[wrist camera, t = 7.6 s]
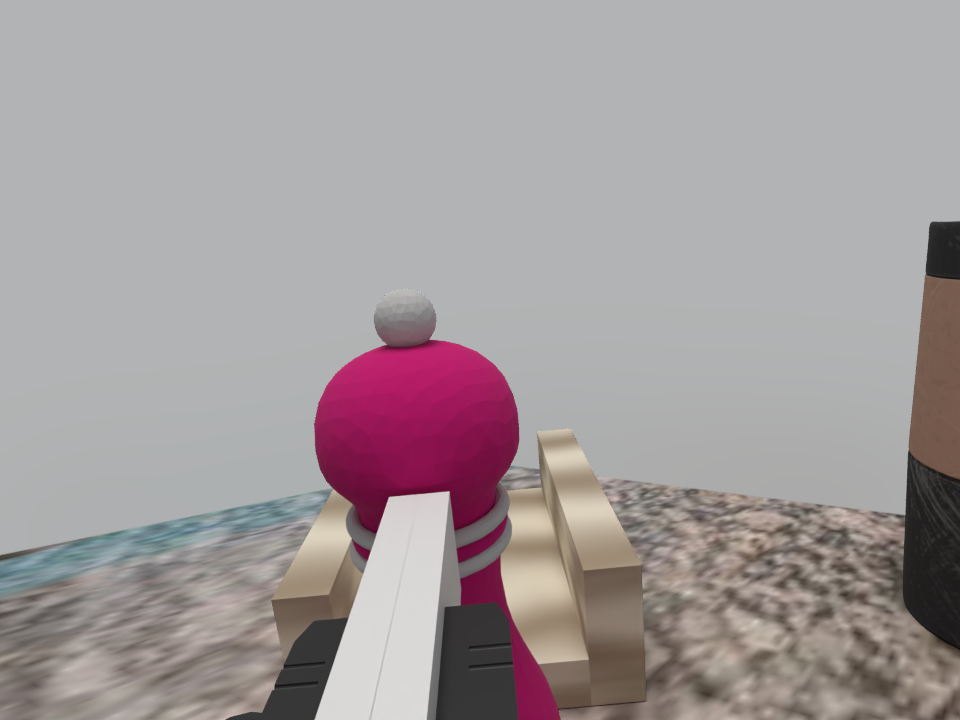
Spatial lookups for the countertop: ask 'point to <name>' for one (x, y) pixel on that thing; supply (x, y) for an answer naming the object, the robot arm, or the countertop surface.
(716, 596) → the countertop surface
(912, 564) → the travel mug
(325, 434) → the pepper mill
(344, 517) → the u rest
